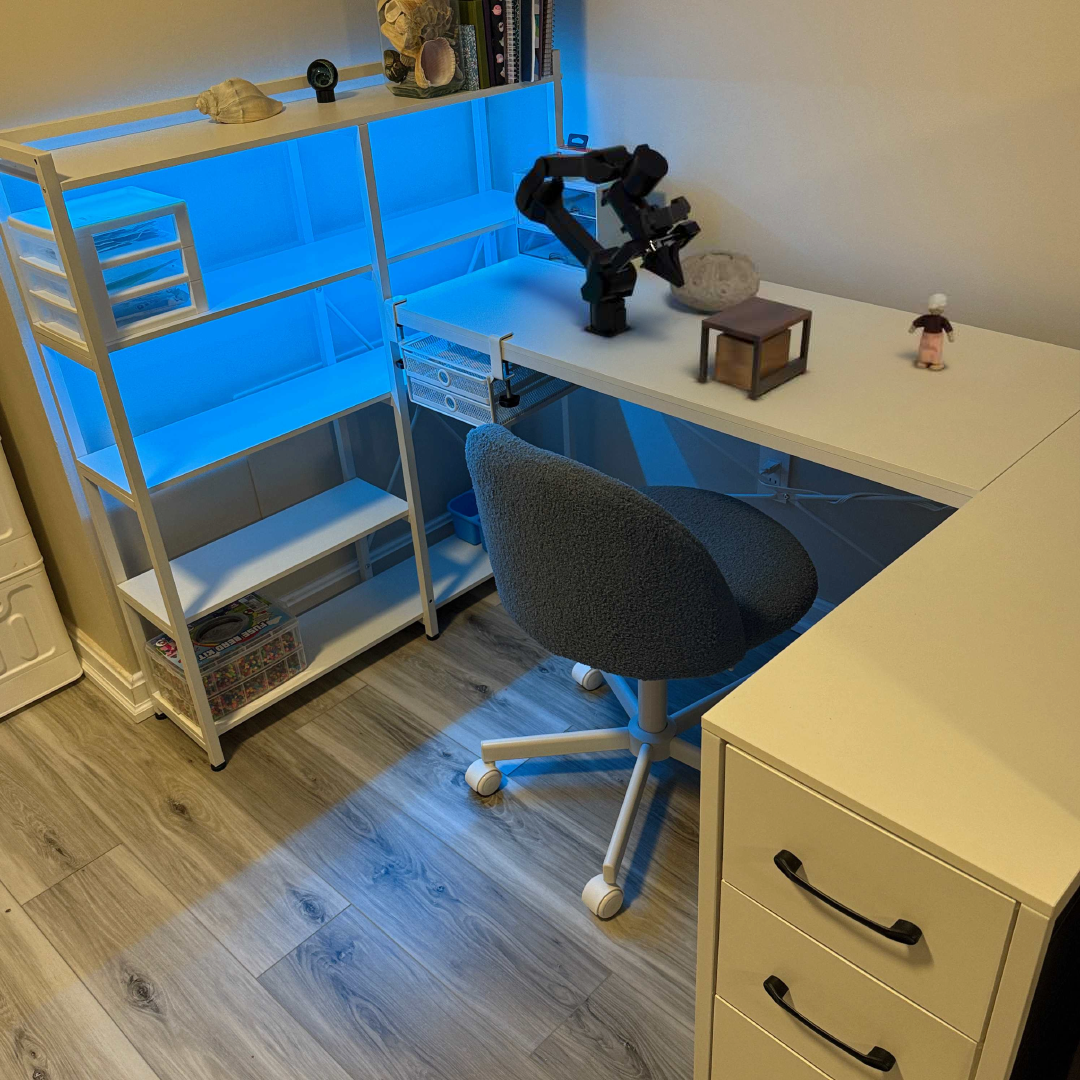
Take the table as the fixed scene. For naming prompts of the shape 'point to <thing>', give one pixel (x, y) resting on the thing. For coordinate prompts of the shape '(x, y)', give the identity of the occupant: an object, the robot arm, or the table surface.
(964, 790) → the table surface
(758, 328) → the desk shelf
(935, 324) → the grandmother figurine
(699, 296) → the grey rounded stone
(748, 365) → the wooden box
